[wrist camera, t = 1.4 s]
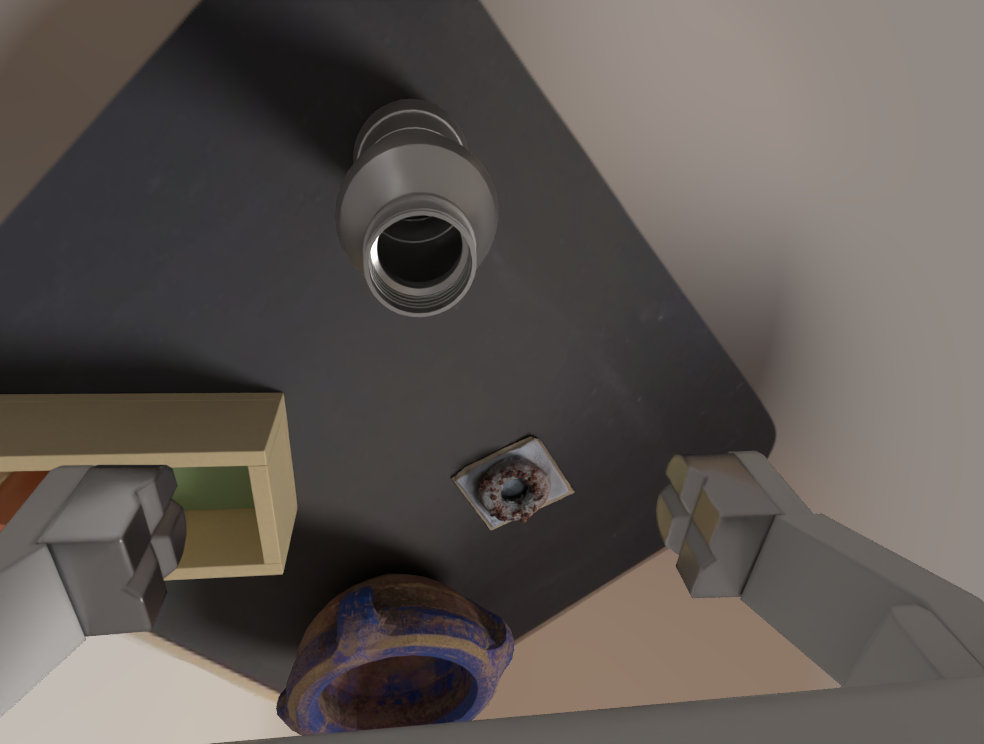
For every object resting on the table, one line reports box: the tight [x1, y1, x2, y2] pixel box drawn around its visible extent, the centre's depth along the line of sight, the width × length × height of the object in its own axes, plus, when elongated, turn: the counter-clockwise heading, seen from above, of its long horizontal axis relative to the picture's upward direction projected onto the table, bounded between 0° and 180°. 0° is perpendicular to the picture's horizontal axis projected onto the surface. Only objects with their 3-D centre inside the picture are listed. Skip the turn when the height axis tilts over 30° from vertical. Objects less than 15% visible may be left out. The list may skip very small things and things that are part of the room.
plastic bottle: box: [335, 99, 498, 317], centre depth 27 cm, size 6×7×20 cm
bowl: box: [276, 573, 514, 736], centre depth 52 cm, size 18×18×10 cm
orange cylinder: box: [0, 470, 51, 532], centre depth 39 cm, size 5×5×8 cm
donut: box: [452, 436, 574, 530], centre depth 50 cm, size 8×8×2 cm
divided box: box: [0, 393, 297, 580], centre depth 41 cm, size 11×22×7 cm, turn 86°
